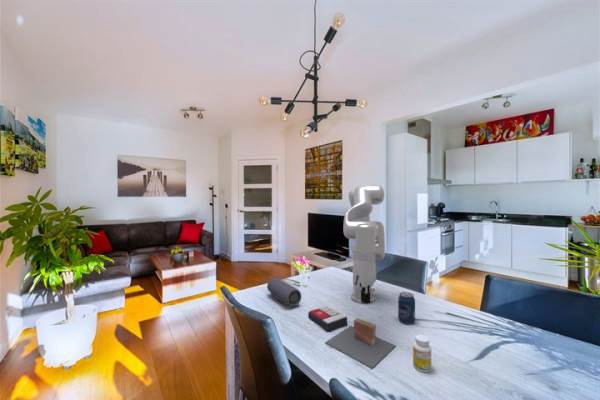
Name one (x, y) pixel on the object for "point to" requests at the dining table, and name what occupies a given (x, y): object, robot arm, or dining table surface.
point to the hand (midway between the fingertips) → (365, 302)
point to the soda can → (406, 308)
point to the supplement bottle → (422, 353)
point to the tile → (365, 331)
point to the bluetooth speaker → (284, 292)
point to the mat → (360, 347)
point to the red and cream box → (328, 318)
